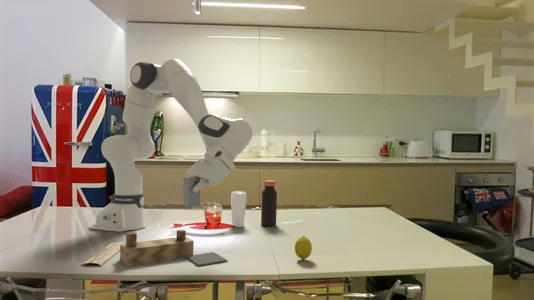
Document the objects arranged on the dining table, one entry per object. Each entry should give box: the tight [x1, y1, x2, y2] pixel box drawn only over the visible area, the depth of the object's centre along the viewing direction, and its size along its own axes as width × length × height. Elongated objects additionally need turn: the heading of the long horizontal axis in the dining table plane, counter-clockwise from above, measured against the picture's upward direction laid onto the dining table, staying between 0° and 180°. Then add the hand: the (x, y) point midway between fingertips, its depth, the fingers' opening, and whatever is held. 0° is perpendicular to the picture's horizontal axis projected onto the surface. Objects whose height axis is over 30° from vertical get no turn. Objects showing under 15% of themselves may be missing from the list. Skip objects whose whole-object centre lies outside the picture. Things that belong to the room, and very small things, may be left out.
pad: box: [185, 251, 228, 267], centre depth 137 cm, size 10×10×1 cm
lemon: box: [294, 235, 313, 261], centre depth 139 cm, size 6×6×8 cm
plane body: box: [119, 229, 195, 267], centre depth 137 cm, size 22×7×9 cm, turn 123°
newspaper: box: [81, 241, 126, 267], centre depth 140 cm, size 24×7×2 cm, turn 0°
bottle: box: [260, 179, 278, 228], centre depth 189 cm, size 7×7×20 cm
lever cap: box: [183, 175, 201, 208], centre depth 136 cm, size 4×4×10 cm
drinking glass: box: [230, 190, 247, 228], centre depth 186 cm, size 7×7×15 cm
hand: (190, 190), depth 135 cm, fingers closed on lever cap, 4 cm apart
